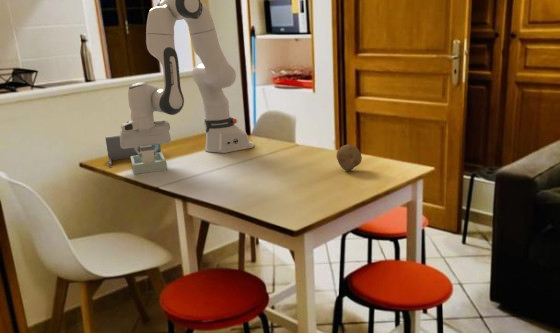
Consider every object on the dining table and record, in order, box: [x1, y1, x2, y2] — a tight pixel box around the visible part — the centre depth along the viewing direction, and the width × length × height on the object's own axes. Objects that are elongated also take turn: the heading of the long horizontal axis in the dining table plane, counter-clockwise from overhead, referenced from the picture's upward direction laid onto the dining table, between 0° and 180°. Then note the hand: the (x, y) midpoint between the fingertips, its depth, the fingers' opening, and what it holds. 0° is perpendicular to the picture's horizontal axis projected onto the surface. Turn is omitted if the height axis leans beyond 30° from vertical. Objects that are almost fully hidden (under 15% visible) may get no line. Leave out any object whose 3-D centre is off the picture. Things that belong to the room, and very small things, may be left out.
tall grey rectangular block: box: [140, 145, 155, 164], centre depth 214 cm, size 4×9×6 cm, turn 19°
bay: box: [105, 134, 141, 168], centre depth 225 cm, size 14×13×11 cm
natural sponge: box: [336, 144, 363, 172], centre depth 190 cm, size 9×9×10 cm
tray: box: [130, 151, 168, 175], centre depth 215 cm, size 13×17×4 cm
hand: (147, 156), depth 214 cm, fingers closed on tall grey rectangular block, 4 cm apart
